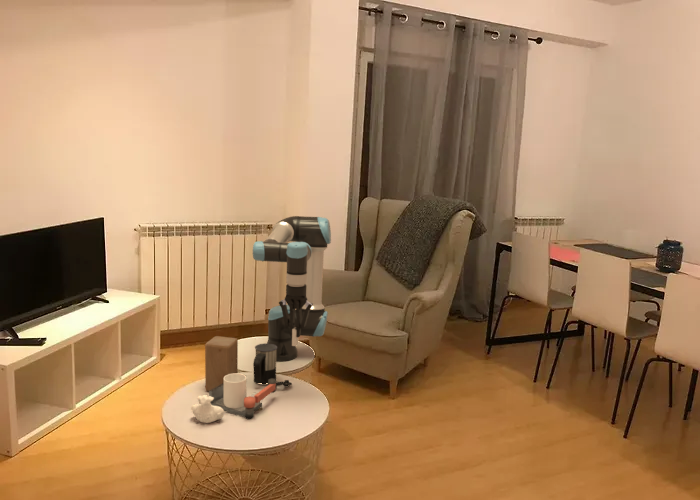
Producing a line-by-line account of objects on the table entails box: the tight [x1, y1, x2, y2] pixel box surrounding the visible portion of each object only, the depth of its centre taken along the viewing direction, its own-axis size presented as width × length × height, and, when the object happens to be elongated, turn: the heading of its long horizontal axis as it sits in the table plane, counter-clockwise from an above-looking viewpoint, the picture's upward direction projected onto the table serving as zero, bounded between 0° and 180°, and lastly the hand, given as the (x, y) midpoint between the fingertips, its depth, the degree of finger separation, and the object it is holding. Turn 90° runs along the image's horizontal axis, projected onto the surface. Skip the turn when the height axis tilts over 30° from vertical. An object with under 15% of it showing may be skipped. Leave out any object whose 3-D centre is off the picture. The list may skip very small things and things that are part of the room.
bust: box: [190, 394, 225, 424], centre depth 204 cm, size 12×8×11 cm
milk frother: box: [252, 342, 292, 387], centre depth 237 cm, size 14×16×15 cm
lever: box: [244, 378, 277, 408], centre depth 216 cm, size 20×4×6 cm, turn 158°
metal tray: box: [208, 383, 263, 420], centre depth 216 cm, size 10×20×6 cm, turn 63°
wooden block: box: [204, 335, 239, 392], centre depth 231 cm, size 10×10×20 cm
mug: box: [224, 373, 247, 408], centre depth 217 cm, size 12×8×10 cm
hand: (294, 344), depth 220 cm, fingers closed
